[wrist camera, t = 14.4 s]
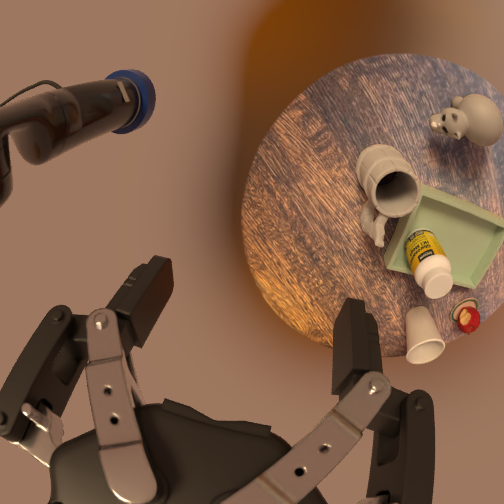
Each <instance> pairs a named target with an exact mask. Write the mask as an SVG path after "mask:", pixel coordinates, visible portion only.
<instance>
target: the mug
mask: <svg viewBox="0 0 504 504" xmlns="http://www.w3.org/2000/svg"><path fill="white" fill-rule="evenodd" d="M395 171H398V172H397V174H396V176H395V178H394V180H393V181H392V182H390V183H389V184H387V185H384V186H377V184H378V183H379V181H380V180H381V179H382V178H383V177H384V176H385V175H387V174H389V173H392V172H395ZM355 172H356V176H357V179H358V181H359V183H360V185H361V186H362V188H363V189H364V190H365V193H366V195H367V197H368V200H367V202H366V203H365V204H363V206H362V211H361V213H360V219H361V227H362V231H364V232H365V233H366V234H367V235H369V236H370V237H371V238H372V239H373V240H374V243H375V246H378V247H381V248H382V247H383V246H384V241H383V239H384V235H385V231H384V226H385V223H386V222H387V220H388V218H389V217H392V218H396V217H398V218H399V217H402V216H405V215H407V214H409V213H410V212H412V211H413V210H414V209H415V208H416V206H417V204H418V203H419V199H420V194H421V186H420V182H419V180H418V178H417V177H416V175H415V173H414V171H413V169H412V167H411V166H410V165H409V164H408V163H407V162H406V161H405V160H404V158H403V156H402V155H401V154H400V152H399V151H397V150H396V149H395V148H394V147H391V146H389V145H384V144H375V145H372V146H370V147H368V148H366V149H364V150H363V151H362V152H361V154H360V156H359V158H358V160H357V163H356V171H355ZM375 207H376V209H377V210H378V211H379V214H378V216H377V218H376V220H375V221H373V220H374V211H373V210H374V208H375Z"/></svg>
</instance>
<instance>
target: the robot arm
mask: <svg viewBox="0 0 504 504" xmlns="http://www.w3.org/2000/svg"><path fill="white" fill-rule="evenodd" d="M42 84H49V85H51V86H53V87H55V88H56V90H52V91H49V92H45V93H42V94H38V95H35V96H32V97H29V98H26V99H23V100H20V101H17V102H14V103H11V104H9V105H5V104H6V103H7V102H9V101H11V100H12V99H14V98H15V97H17V96H18V95H20V94H22V93H24V92H26V91H28V90H30V89H33V88H35V87H37V86H39V85H42ZM141 104H142V98H141V92H140V90H139V87H138V86H137V84H136V83H135V82H134V81H133V80H131V79H129V78H127V77H117V78H113V79H106V80H99V81H93V82H88V83H83V84H78V85H73V86H68V87H64V88H62V87H61V86H60V85H58V84H57V83H55V82H53V81H49V80H44V81H40V82H37V83H36V84H33V85H31V86H29V87H27V88H25V89H23V90H21V91H19V92H18V93H16V94H15V95H13V96H12V97H10V98H9V99H7V100H6V101H5V102H3V103H2V104H0V207H2V206H3V205H4V203H5V202H6V201H7V200H8V199H9V197H10V195H11V193H12V191H13V176H12V169H11V160H10V151H9V141H8V135H10V136H11V138H12V139H13V141H14V144H15V146H16V148H17V150H18V152H19V153H20V155H21V156H22V158H23V159H24V160H25V161H26V162H28V163H30V164H32V165H41V164H44V163H46V162H48V161H50V160H52V159H53V158H55V157H57V156H59V155H61V154H63V153H65V152H67V151H69V150H71V149H73V148H75V147H77V146H79V145H81V144H83V143H86V142H88V141H90V140H92V139H95V138H97V137H99V136H102V135H104V134H106V133H109V132H111V131H114V130H117V129H119V128H123V127H126V126H128V125H130V124H131V123H132V122H134V120H135V119H136V118H137V116H138V114H139V112H140V109H141ZM3 105H5V106H3ZM173 287H174V281H173V271H172V261H171V259H169V258H165V257H161V256H157V255H155V256H153V257H152V259H151V260H150V261H149V263H148V264H141V265H140V266H138V267H137V268H135V269H134V270H133V271H132V273H131V274H130V275H129V276H128V279H126V280H125V282H124V283H123V285H122V286H121V287H120V289H119V290H118V291H117V293H116V294H115V295H114V297H113V298H112V300H111V301H110V302H109V304H108V305H107V306H106V307H105V308H100V309H97V310H95V311H93V312H92V313H91V314H90V315H75V314H72V312H71V310H70V308H69V307H67V306H65V305H58V306H55V307H53V308H52V309H51V310H50V311H49V312H48V313H47V314H46V316H45V317H44V319H43V320H42V322H41V323H40V325H39V326H38V328H37V329H36V331H35V332H34V334H33V335H32V337H31V338H30V340H29V342H28V343H27V345H26V346H25V348H24V350H23V351H22V353H21V354H20V356H19V358H18V360H17V362H16V363H15V365H14V367H13V368H12V370H11V372H10V374H9V375H8V377H7V379H6V381H5V383H4V385H3V387H2V389H1V391H0V436H1V437H3V438H5V439H6V440H7V441H8V442H10V443H12V444H14V445H15V446H17V447H19V448H21V449H23V450H25V451H26V452H27V453H28V454H30V455H31V456H32V457H34V458H35V459H37V460H38V461H39V462H41V463H42V464H44V465H45V466H47V467H48V468H49V471H50V478H51V496H50V500H49V502H48V504H328V503H327V502H326V500H325V499H324V497H323V496H322V494H321V492H320V491H319V489H318V488H317V485H318V484H319V483H320V482H321V481H322V480H323V479H324V478H325V477H326V476H327V475H328V474H329V473H330V472H331V471H332V470H333V469H334V468H335V467H336V466H337V465H338V464H339V463H340V461H341V460H342V459H343V458H344V457H345V456H346V455H347V454H348V453H349V452H350V451H351V449H352V448H353V447H354V446H355V445H356V444H357V442H358V441H359V440H360V438H361V437H362V435H363V434H362V432H363V431H364V429H365V428H367V429H370V430H373V431H374V438H373V449H372V459H371V467H370V476H369V482H368V489H367V494H366V498H365V499H363V500H361V501H359V502H358V503H357V504H432V496H433V485H434V470H435V425H434V424H435V423H434V406H433V401H432V398H431V396H430V395H429V394H428V393H426V392H425V391H423V390H414V391H413V392H411V393H410V394H408V393H405V392H403V391H400V390H398V389H395V388H393V387H392V386H391V384H390V381H389V380H388V378H387V377H386V376H385V375H384V374H383V370H382V359H381V350H380V343H379V335H378V326H377V322H376V320H375V319H374V317H373V315H372V314H370V313H366V311H365V303H364V301H363V300H358V299H353V298H347V299H346V300H345V302H344V304H343V306H342V308H341V310H340V312H339V314H338V316H337V318H336V321H335V324H334V329H333V370H332V395H339V402H338V403H337V404H336V405H335V406H334V407H333V409H332V410H331V411H330V412H329V413H328V414H327V415H326V416H325V417H324V418H323V419H322V420H321V421H320V422H319V423H318V424H317V425H316V426H315V427H313V428H312V429H311V430H310V431H309V432H308V433H307V434H306V435H305V436H304V437H303V438H301V439H300V440H299V441H298V442H297V443H296V444H295V445H294V446H293V447H291V446H290V445H289V444H288V443H287V442H286V441H285V440H284V439H283V438H281V437H280V436H278V435H276V434H274V433H272V432H270V430H271V426H268V425H262V424H257V423H252V422H247V421H216V420H213V419H211V418H209V417H207V416H205V415H204V414H202V413H200V412H198V411H197V410H195V409H193V408H191V407H190V406H186V405H184V404H180V403H177V402H174V401H171V400H168V399H164V402H163V404H160V403H155V404H154V403H153V404H146V403H145V400H144V398H143V395H142V392H141V390H140V387H139V383H138V379H137V375H136V371H135V368H134V363H133V359H132V354H131V350H132V348H133V346H137V347H140V348H142V347H143V345H144V343H145V341H146V340H147V338H148V336H149V334H150V332H151V330H152V328H153V327H154V325H155V323H156V321H157V319H158V318H159V316H160V314H161V312H162V310H163V309H164V307H165V305H166V303H167V301H168V300H169V298H170V296H171V294H172V292H173ZM59 352H60V353H59ZM58 354H59V355H58ZM55 359H56V360H55ZM88 360H89V363H87V362H88ZM54 361H55V362H54ZM84 367H85V371H86V380H87V387H88V393H89V400H90V405H91V411H92V416H93V421H94V426H95V429H93V430H91V431H88V432H86V433H84V434H82V435H80V436H78V437H76V438H73V439H71V440H69V441H66V442H64V443H62V436H63V435H64V430H63V423H62V421H61V419H60V418H61V416H62V413H63V411H64V409H65V407H66V405H67V402H68V400H69V398H70V396H71V394H72V392H73V390H74V388H75V385H76V383H77V381H78V379H79V377H80V375H81V373H82V371H83V369H84Z"/></svg>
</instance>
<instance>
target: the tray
mask: <svg viewBox="0 0 504 504" xmlns="http://www.w3.org/2000/svg"><path fill="white" fill-rule="evenodd" d="M420 186H421V194H420V199H419V203H418V204H417V206H416V208H415V209H414V210H413V211H412V212H410V213H409V214H407V215H405V216H402V217H400V219H399V221H398V224H397V226H396V229H395V231H394V234H393V236H392V238H391V241H390V243H389V245H388V247H387V250H386V252H385V254H384V256H383V258H384V262H385V265H386V269H389V270H394V271H398V272H402V273H407V274H411V275H413V273H412V270H411V267H410V264H409V262H408V259H407V256H406V254H405V251H404V242H405V239H406V238H407V236H408V235H409V234H410V233H411V232H412V231H414V230H416V229H419V228H426V229H429V230H431V231H432V232H433V233H434V235H435V236H436V238H437V240H438V242H439V243H440V245H441V247H442V249H443V250H444V252H445V254H446V256H447V258H448V260H449V262H450V265H451V272H450V274H451V276H452V278H453V284H455V285H459V286H463V287H467V288H471V289H475V288H476V287H477V285H478V284H479V282H480V281H481V279H482V278H483V276H484V274H485V273H486V271H487V270H488V268H489V266H490V264H491V263H492V261H493V259H494V258H495V256H496V254H497V252H498V250H499V248H500V247H501V245H502V243H503V241H504V219H503V218H502V217H500V216H498V215H496V214H494V213H492V212H490V211H487V210H485V209H483V208H481V207H479V206H476V205H474V204H472V203H470V202H467V201H465V200H463V199H460V198H458V197H455V196H453V195H450V194H448V193H445V192H443V191H440V190H437V189H435V188H432V187H429V186H427V185H424V184H421V183H420Z"/></svg>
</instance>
